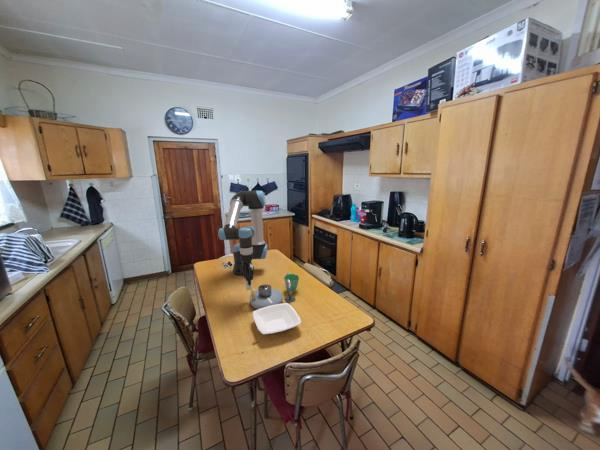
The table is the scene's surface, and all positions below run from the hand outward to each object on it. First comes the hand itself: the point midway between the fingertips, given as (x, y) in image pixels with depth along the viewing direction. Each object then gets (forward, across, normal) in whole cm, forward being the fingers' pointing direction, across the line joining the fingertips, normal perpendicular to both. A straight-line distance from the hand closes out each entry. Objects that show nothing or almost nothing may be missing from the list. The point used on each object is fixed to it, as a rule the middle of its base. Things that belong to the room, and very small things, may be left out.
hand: (248, 288), depth 151 cm
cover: (+4, +7, +7) cm, 11 cm away
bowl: (+9, +32, -1) cm, 33 cm away
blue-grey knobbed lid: (+6, +9, +7) cm, 13 cm away
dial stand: (+8, +16, +20) cm, 27 cm away
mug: (+8, +6, +29) cm, 30 cm away
